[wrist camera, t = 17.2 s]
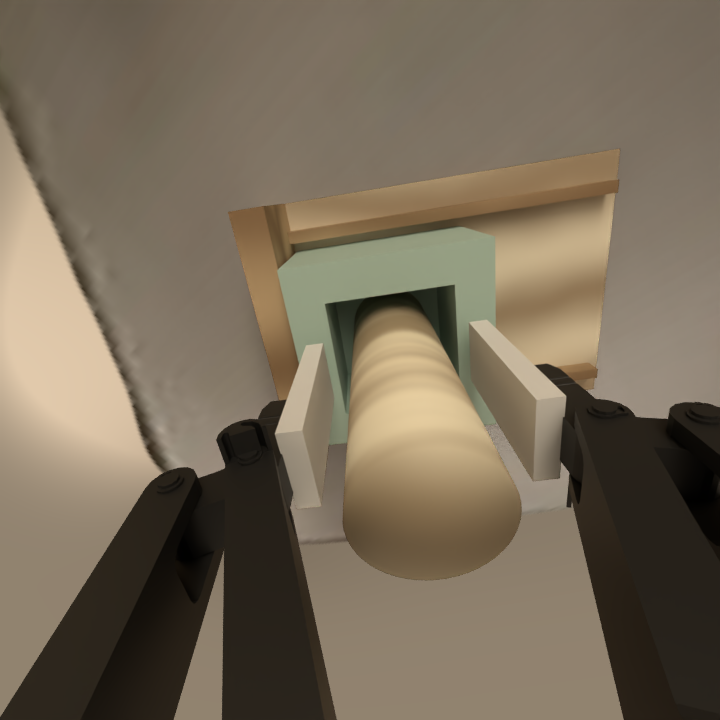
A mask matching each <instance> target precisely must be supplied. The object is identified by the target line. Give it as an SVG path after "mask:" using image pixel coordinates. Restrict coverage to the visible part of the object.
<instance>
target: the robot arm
mask: <svg viewBox="0 0 720 720" xmlns="http://www.w3.org/2000/svg"><path fill="white" fill-rule="evenodd" d="M469 342H470V370H471V381H472V382H473V384H474V386H475V387H476V389H477V391H478V392H479V394H480V395H481V397H482V399H483V400H484V402H485V404H486V405H487V407H488V409H489V410H490V412H491V413H492V415H493V417H494V418H495V420H496V422H497V423H498V425H499V426H500V428H501V430H502V431H503V433H504V435H505V436H506V438H507V440H508V441H509V443H510V444H511V446H512V448H513V449H514V451H515V453H516V454H517V456H518V458H519V459H520V461H521V462H522V464H523V466H524V467H525V469H526V471H527V472H528V474H529V476H530V477H531V479H532V480H533V481H541V480H549V479H558V478H560V469H561V462H562V463H563V465H564V466H565V467H566V469H567V470H568V471H569V472H570V474H569V485H568V496H567V507H571V504H572V503H573V508H574V511H575V516H576V520H577V524H578V529H579V533H580V537H581V541H582V545H583V550H584V554H585V558H586V562H587V566H588V570H589V575H590V579H591V583H592V588H593V592H594V595H595V600H596V604H597V609H598V613H599V617H600V621H601V624H602V630H603V633H604V638H605V642H606V647H607V651H608V655H609V659H610V663H611V668H612V672H613V676H614V680H615V684H616V688H617V693H618V697H619V701H620V706H621V710H622V714H623V718H624V720H720V407H716V406H713V405H711V404H707V403H704V404H703V403H700V402H694V403H692V402H684V403H680V404H675V405H674V406H672V407H671V408H670V411H669V416H668V419H657V418H640V417H635V415H634V413H633V412H632V411H631V410H630V409H629V408H628V407H626V406H624V405H622V404H620V403H617V402H613V401H609V400H601V399H595V398H594V397H593V396H592V395H590V394H589V393H588V392H587V391H586V390H585V389H583V388H582V387H581V386H580V385H579V384H578V383H576V382H575V381H574V380H573V379H572V378H571V377H569V376H568V375H567V374H566V373H565V372H564V371H562V370H561V369H560V368H557V367H555V366H552V365H550V364H547V363H546V364H538V365H534V364H532V363H531V362H530V361H529V360H528V359H527V358H526V357H525V356H524V355H523V354H522V353H521V352H520V351H519V350H518V349H517V348H516V347H515V346H514V345H513V344H512V343H511V342H510V341H509V340H508V339H507V338H505V337H504V336H503V335H502V334H501V333H500V332H499V331H498V330H497V329H496V328H495V327H494V326H493V325H492V324H491V323H490V322H489V321H488V320H481V321H474V322H469ZM333 405H334V394H333V389H332V384H331V379H330V374H329V369H328V364H327V359H326V354H325V349H324V344H323V343H320V344H313V345H306V347H305V350H304V352H303V355H302V358H301V361H300V364H299V367H298V369H297V372H296V375H295V378H294V381H293V384H292V386H291V389H290V392H289V395H288V398H287V400H279V401H272V402H270V403H269V404H268V405H267V406H266V407H265V408H263V409H262V411H261V413H260V416H259V418H258V419H248V420H243V421H239V422H236V423H234V424H231V425H230V426H228V427H227V428H225V429H224V430H223V431H222V432H221V433H220V434H219V435H218V437H217V440H216V441H217V443H218V446H219V449H220V452H221V454H222V457H223V460H224V462H225V469H223V470H220V471H218V472H215V473H212V474H209V475H206V476H203V477H200V478H198V477H197V475H196V473H195V471H194V470H193V469H191V468H188V467H184V468H176V469H173V470H169V471H167V472H164V473H163V474H161V475H159V476H158V477H157V478H155V479H154V480H153V481H151V482H150V484H149V485H148V486H147V487H146V488H145V490H144V491H143V493H142V495H141V496H140V498H139V499H138V501H137V503H136V504H135V506H134V507H133V509H132V511H131V512H130V513H129V515H128V517H127V518H126V520H125V521H124V523H123V524H122V526H121V528H120V529H119V531H118V532H117V534H116V536H115V537H114V539H113V540H112V542H111V543H110V545H109V547H108V548H107V550H106V552H105V553H104V555H103V556H102V558H101V559H100V561H99V562H98V564H97V565H96V567H95V569H94V570H93V572H92V573H91V575H90V577H89V578H88V580H87V581H86V583H85V584H84V586H83V587H82V589H81V591H80V592H79V594H78V595H77V597H76V599H75V600H74V602H73V603H72V605H71V606H70V608H69V610H68V611H67V613H66V614H65V616H64V617H63V619H62V621H61V622H60V624H59V625H58V627H57V629H56V630H55V632H54V633H53V635H52V636H51V638H50V640H49V641H48V643H47V644H46V646H45V647H44V649H43V651H42V652H41V654H40V655H39V657H38V659H37V660H36V662H35V663H34V665H33V667H32V668H31V669H30V671H29V673H28V674H27V676H26V677H25V679H24V681H23V682H22V684H21V686H20V687H19V688H18V690H17V692H16V693H15V695H14V696H13V698H12V699H11V701H10V703H9V704H8V706H7V707H6V709H5V711H4V712H3V714H2V715H1V717H0V720H174V716H175V713H176V709H177V706H178V703H179V699H180V696H181V693H182V689H183V686H184V683H185V679H186V676H187V673H188V669H189V666H190V662H191V659H192V656H193V652H194V649H195V646H196V642H197V639H198V635H199V632H200V629H201V625H202V622H203V618H204V615H205V612H206V609H207V605H208V602H209V598H210V595H211V591H212V588H213V585H214V582H215V578H216V575H217V571H218V568H219V565H220V561H221V558H222V555H223V551H224V609H223V613H224V614H223V686H222V690H223V691H222V720H337V719H336V715H335V710H334V705H333V701H332V696H331V692H330V687H329V683H328V678H327V673H326V668H325V664H324V659H323V654H322V650H321V645H320V640H319V636H318V631H317V626H316V622H315V617H314V612H313V608H312V603H311V599H310V594H309V590H308V585H307V580H306V576H305V571H304V566H303V562H302V557H301V552H300V548H299V543H298V538H297V534H296V529H295V524H294V520H293V516H292V513H291V509H290V505H291V501H292V496H293V499H294V502H295V506H296V509H303V508H311V507H320V506H321V505H322V497H323V489H324V480H325V472H326V464H327V455H328V447H329V439H330V430H331V422H332V414H333Z"/></svg>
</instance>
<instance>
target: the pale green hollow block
mask: <svg viewBox="0 0 720 720" xmlns="http://www.w3.org/2000/svg"><path fill="white" fill-rule="evenodd" d="M277 273H278V277H279V281H280V286H281V290H282V294H283V298H284V302H285V307H286V311H287V315H288V319H289V324H290V328H291V332H292V336H293V341H294V345H295V349H296V353H297V357H298V362H299V364H300V361H301V358H302V355H303V352H304V350H305V347H306V345H313V344H320V343H323V344H324V349H325V354H326V359H327V364H328V369H329V374H330V379H331V384H332V389H333V394H334V405H333V414H332V422H331V430H330V439H329V445H335V444H343V443H347V437H348V421H349V404H350V388H351V371H352V355H353V338H354V322H355V315H356V312H357V309H358V307H359V305H360V304H361V302H362V301H363V300H364V299H365V298H367V297H374V296H381V295H387V294H394V293H401V292H409V293H410V294H412V295H413V296H414V297H415V298H416V299H417V300H418V301H419V302H420V304H421V305H422V307H423V309H424V311H425V313H426V315H427V317H428V319H429V321H430V323H431V325H432V327H433V329H434V330H435V332H436V334H437V336H438V338H439V340H440V342H441V344H442V346H443V348H444V350H445V352H446V353H447V355H448V357H449V359H450V361H451V363H452V365H453V367H454V369H455V371H456V373H457V375H458V376H459V378H460V380H461V382H462V384H463V386H464V388H465V390H466V392H467V394H468V396H469V398H470V399H471V401H472V403H473V405H474V407H475V409H476V411H477V413H478V415H479V417H480V419H481V421H482V423H483V424H484V425H492V424H496V420H495V418H494V417H493V415H492V413H491V412H490V410H489V409H488V407H487V405H486V404H485V402H484V400H483V399H482V397H481V395H480V394H479V392H478V391H477V389H476V387H475V386H474V384H473V382H472V381H471V370H470V342H469V322H474V321H481V320H488V321H489V322H490V323H491V324H492V325H493V326H494V327H495V328H496V290H495V236H492V235H488V234H485V233H482V232H478V231H475V230H471V229H468V228H465V227H461V226H454V227H448V228H441V229H435V230H429V231H422V232H416V233H410V234H403V235H397V236H390V237H384V238H378V239H371V240H365V241H359V242H352V243H346V244H340V245H333V246H327V247H321V248H314V249H308V250H302V251H298V252H297V253H295V254H294V255H293V256H292V257H291V258H290V259H289V260H288V261H287V262H286V263H284V264H283V265H282V266H281V267H280V268H279V269H278V270H277Z"/></svg>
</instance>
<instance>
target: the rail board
mask: <svg viewBox="0 0 720 720" xmlns="http://www.w3.org/2000/svg"><path fill="white" fill-rule="evenodd" d="M619 155H620V149H615V150H609V151H603V152H597V153H591V154H585V155H579V156H573V157H567V158H561V159H554V160H548V161H542V162H536V163H530V164H524V165H518V166H512V167H506V168H500V169H494V170H488V171H482V172H476V173H470V174H464V175H457V176H451V177H445V178H439V179H433V180H427V181H421V182H415V183H409V184H403V185H397V186H391V187H385V188H379V189H373V190H367V191H360V192H354V193H348V194H342V195H336V196H330V197H324V198H318V199H312V200H306V201H300V202H294V203H288V204H280V205H270V206H262V207H256V208H250V209H244V210H238V211H232V212H228V214H229V217H230V221H231V225H232V228H233V232H234V236H235V239H236V243H237V247H238V250H239V254H240V258H241V262H242V265H243V269H244V273H245V276H246V280H247V284H248V287H249V291H250V295H251V298H252V302H253V306H254V309H255V313H256V317H257V321H258V324H259V328H260V332H261V335H262V339H263V343H264V346H265V350H266V354H267V357H268V361H269V365H270V368H271V372H272V376H273V380H274V383H275V387H276V391H277V394H278V398H279V400H287V398H288V395H289V392H290V389H291V386H292V384H293V381H294V378H295V375H296V372H297V369H298V367H299V362H298V357H297V353H296V349H295V345H294V341H293V336H292V332H291V328H290V324H289V319H288V315H287V311H286V307H285V302H284V298H283V294H282V290H281V286H280V281H279V277H278V273H277V270H278V269H279V268H280V267H281V266H282V265H283V264H284V263H286V262H287V261H288V260H289V259H290V258H291V257H292V256H293V255H294V254H295V253H297V252H298V251H302V250H308V249H314V248H321V247H327V246H333V245H340V244H346V243H352V242H359V241H365V240H371V239H378V238H384V237H390V236H397V235H403V234H410V233H416V232H422V231H429V230H435V229H441V228H448V227H454V226H461V227H465V228H468V229H471V230H475V231H478V232H482V233H485V234H488V235H492V236H495V290H496V329H497V330H498V331H499V332H500V333H501V334H502V335H503V336H504V337H505V338H507V339H508V340H509V341H510V342H511V343H512V344H513V345H514V346H515V347H516V348H517V349H518V350H519V351H520V352H521V353H522V354H523V355H524V356H525V357H526V358H527V359H528V360H529V361H530V362H531V363H532V364H534V365H538V364H546V363H547V364H550V365H552V366H555V367H557V368H560V369H561V370H562V371H564V372H565V373H566V374H567V375H568V376H569V377H571V378H572V379H573V380H574V381H575V382H576V383H578V384H579V385H580V386H581V387H582V388H583V389H585V390H589V389H594V380H595V378H597V370H598V369H597V368H596V362H597V353H598V344H599V335H600V326H601V317H602V308H603V299H604V290H605V281H606V272H607V263H608V254H609V245H610V236H611V227H612V218H613V209H614V200H615V193H618V186H619V180H617V173H618V164H619ZM328 449H329V447H328ZM327 457H328V455H327ZM326 465H327V464H326Z"/></svg>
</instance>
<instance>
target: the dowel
mask: <svg viewBox="0 0 720 720" xmlns="http://www.w3.org/2000/svg"><path fill="white" fill-rule="evenodd" d="M521 512H522V509H521V500H520V496H519V493H518V490H517V488H516V486H515V484H514V482H513V480H512V478H511V476H510V474H509V472H508V470H507V469H506V467H505V465H504V463H503V461H502V459H501V457H500V455H499V453H498V451H497V449H496V447H495V446H494V444H493V442H492V440H491V438H490V436H489V434H488V432H487V430H486V428H485V426H484V424H483V423H482V421H481V419H480V417H479V415H478V413H477V411H476V409H475V407H474V405H473V403H472V401H471V399H470V398H469V396H468V394H467V392H466V390H465V388H464V386H463V384H462V382H461V380H460V378H459V376H458V375H457V373H456V371H455V369H454V367H453V365H452V363H451V361H450V359H449V357H448V355H447V353H446V352H445V350H444V348H443V346H442V344H441V342H440V340H439V338H438V336H437V334H436V332H435V330H434V329H433V327H432V325H431V323H430V321H429V319H428V317H427V315H426V313H425V311H424V309H423V307H422V305H421V304H420V302H419V301H418V300H417V299H416V298H415V297H414V296H413V295H412V294H410V293H409V292H401V293H394V294H387V295H381V296H374V297H367V298H365V299H364V300H363V301H362V302H361V304H360V305H359V307H358V309H357V312H356V315H355V322H354V338H353V355H352V371H351V388H350V404H349V421H348V437H347V454H346V470H345V486H344V503H343V528H344V532H345V535H346V538H347V540H348V542H349V544H350V546H351V547H352V548H353V550H354V551H355V552H356V553H357V554H358V555H359V556H360V557H361V559H363V560H364V561H365V562H367V563H368V564H369V565H371V566H373V567H375V568H376V569H378V570H380V571H382V572H384V573H387V574H390V575H393V576H396V577H401V578H405V579H413V580H439V579H447V578H451V577H456V576H460V575H463V574H466V573H469V572H471V571H473V570H476V569H478V568H480V567H481V566H483V565H485V564H487V563H488V562H490V561H491V560H493V559H494V558H495V557H496V556H498V555H499V554H500V553H501V552H502V551H503V550H504V549H505V548H506V547H507V546H508V545H509V543H510V542H511V540H512V539H513V537H514V535H515V533H516V531H517V529H518V526H519V523H520V520H521Z"/></svg>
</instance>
